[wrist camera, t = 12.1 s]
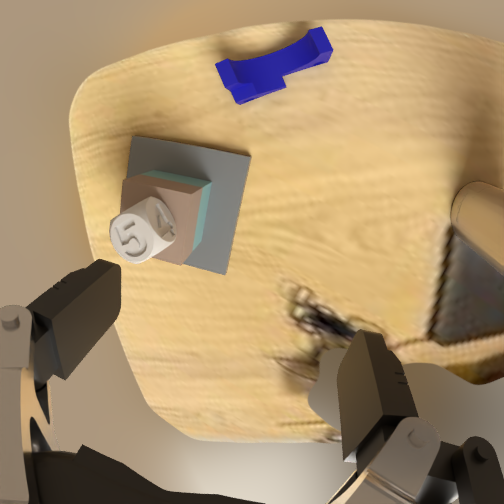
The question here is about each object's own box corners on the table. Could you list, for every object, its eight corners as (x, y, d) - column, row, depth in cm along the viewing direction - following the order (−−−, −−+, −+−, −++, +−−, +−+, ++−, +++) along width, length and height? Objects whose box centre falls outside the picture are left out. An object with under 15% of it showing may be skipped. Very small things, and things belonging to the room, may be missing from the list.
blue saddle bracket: (240, 104, 35) (230, 100, 29) (226, 73, 33) (214, 64, 28) (332, 73, 32) (339, 62, 26) (318, 41, 30) (321, 26, 25)
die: (160, 191, 31) (137, 202, 26) (183, 233, 32) (164, 250, 27) (125, 212, 32) (101, 226, 27) (147, 251, 33) (126, 270, 29)
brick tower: (251, 156, 37) (238, 163, 29) (226, 272, 43) (210, 305, 35) (135, 135, 38) (98, 139, 29) (124, 243, 44) (91, 268, 35)
